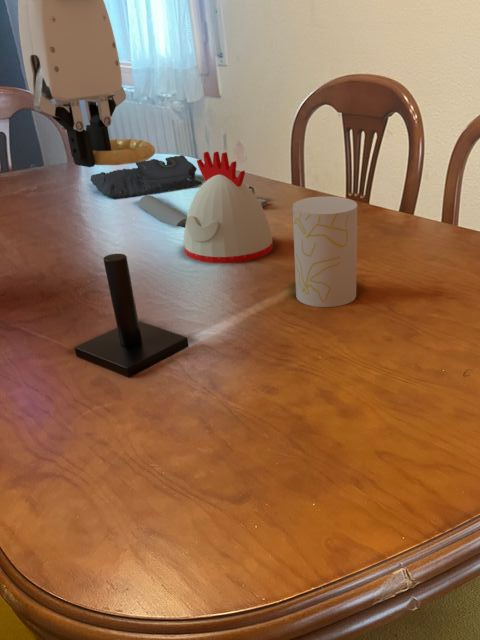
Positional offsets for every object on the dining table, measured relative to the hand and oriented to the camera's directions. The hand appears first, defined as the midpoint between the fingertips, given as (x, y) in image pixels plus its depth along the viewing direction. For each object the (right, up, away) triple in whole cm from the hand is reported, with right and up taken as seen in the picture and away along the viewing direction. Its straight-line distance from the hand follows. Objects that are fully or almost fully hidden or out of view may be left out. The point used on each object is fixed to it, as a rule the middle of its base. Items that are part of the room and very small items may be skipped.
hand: (93, 162), depth 80 cm
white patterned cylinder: (+28, -14, +9) cm, 33 cm away
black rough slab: (-10, +20, +62) cm, 66 cm away
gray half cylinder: (-1, +7, +43) cm, 43 cm away
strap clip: (+14, +9, +46) cm, 49 cm away
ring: (+2, +2, +2) cm, 4 cm away
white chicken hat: (+13, -5, +25) cm, 28 cm away
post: (+6, -23, -4) cm, 24 cm away
